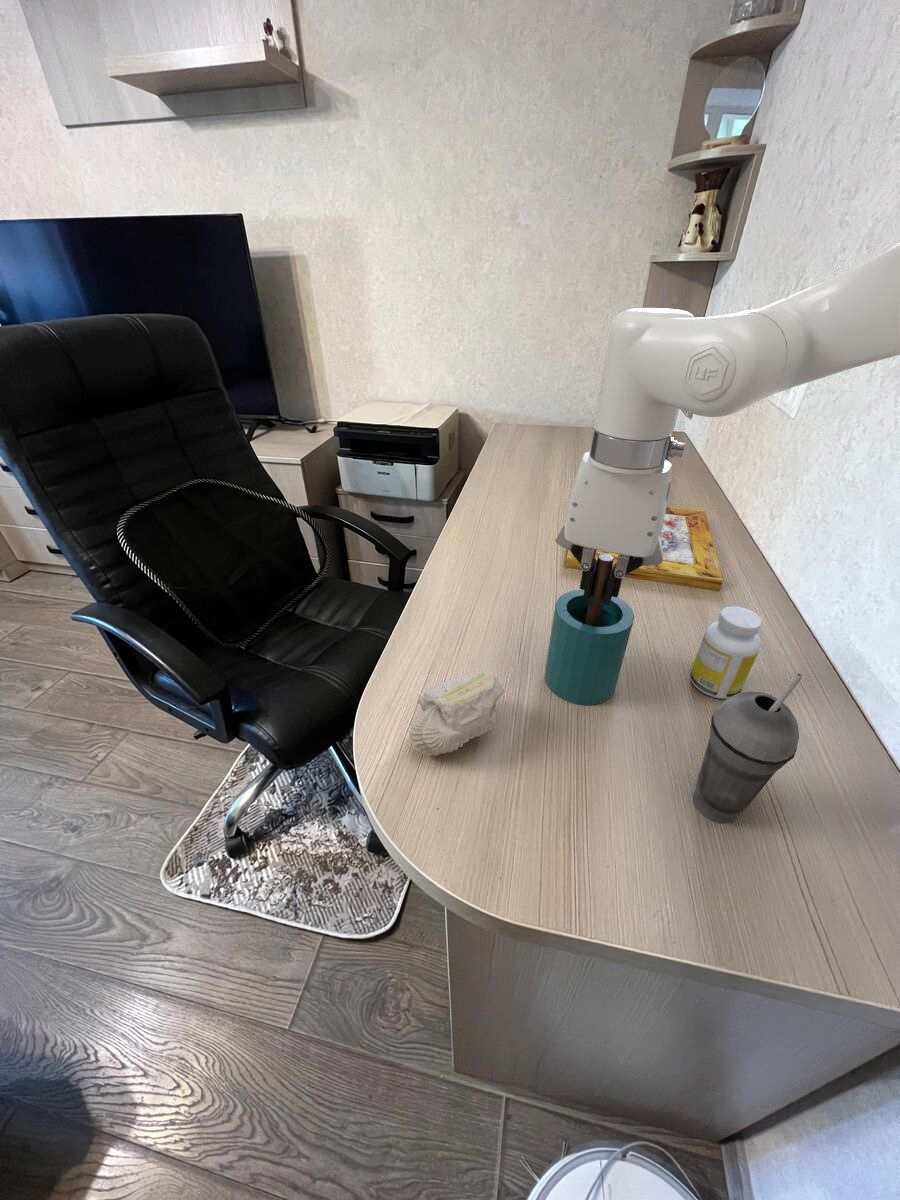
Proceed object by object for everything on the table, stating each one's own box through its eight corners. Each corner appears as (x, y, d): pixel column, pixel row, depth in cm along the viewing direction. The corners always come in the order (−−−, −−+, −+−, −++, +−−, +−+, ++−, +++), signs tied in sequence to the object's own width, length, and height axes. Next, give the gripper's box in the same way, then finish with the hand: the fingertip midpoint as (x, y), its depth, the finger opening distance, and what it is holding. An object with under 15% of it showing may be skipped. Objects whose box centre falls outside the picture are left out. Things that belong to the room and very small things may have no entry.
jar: (620, 668, 72) (639, 599, 65) (608, 714, 64) (627, 642, 58) (555, 650, 75) (565, 582, 68) (536, 691, 68) (546, 621, 61)
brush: (604, 660, 69) (630, 552, 59) (598, 682, 65) (623, 571, 56) (570, 651, 71) (589, 544, 61) (561, 672, 67) (580, 562, 57)
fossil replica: (392, 749, 60) (465, 789, 56) (389, 707, 54) (470, 748, 51) (442, 682, 68) (509, 714, 65) (444, 639, 63) (517, 671, 59)
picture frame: (705, 511, 111) (723, 580, 87) (702, 520, 112) (719, 590, 88) (580, 496, 117) (566, 557, 94) (579, 504, 118) (565, 567, 95)
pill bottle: (742, 679, 70) (773, 611, 63) (736, 708, 65) (768, 639, 59) (693, 662, 73) (717, 596, 66) (684, 689, 68) (709, 621, 62)
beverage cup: (715, 767, 58) (781, 631, 46) (769, 822, 52) (859, 683, 41) (665, 787, 56) (721, 649, 44) (715, 846, 50) (794, 706, 39)
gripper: (713, 448, 51) (668, 596, 62) (561, 429, 57) (544, 568, 67) (711, 471, 46) (662, 630, 56) (543, 448, 51) (527, 597, 62)
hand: (598, 596), depth 62 cm, fingers closed on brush
